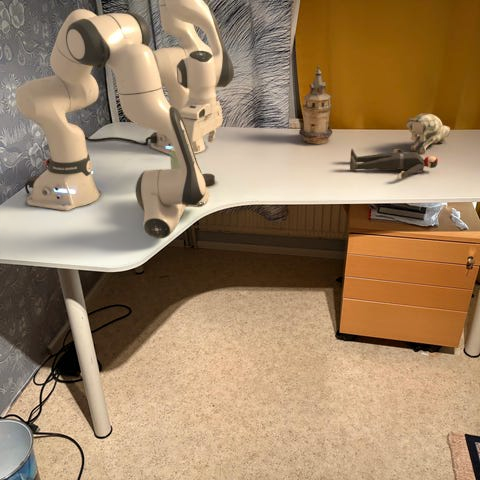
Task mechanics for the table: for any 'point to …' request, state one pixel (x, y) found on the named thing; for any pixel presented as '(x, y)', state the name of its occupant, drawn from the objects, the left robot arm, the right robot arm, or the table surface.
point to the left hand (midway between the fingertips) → (180, 184)
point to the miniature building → (316, 112)
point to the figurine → (427, 131)
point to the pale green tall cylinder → (174, 159)
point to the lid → (209, 179)
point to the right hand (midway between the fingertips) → (203, 146)
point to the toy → (393, 162)
